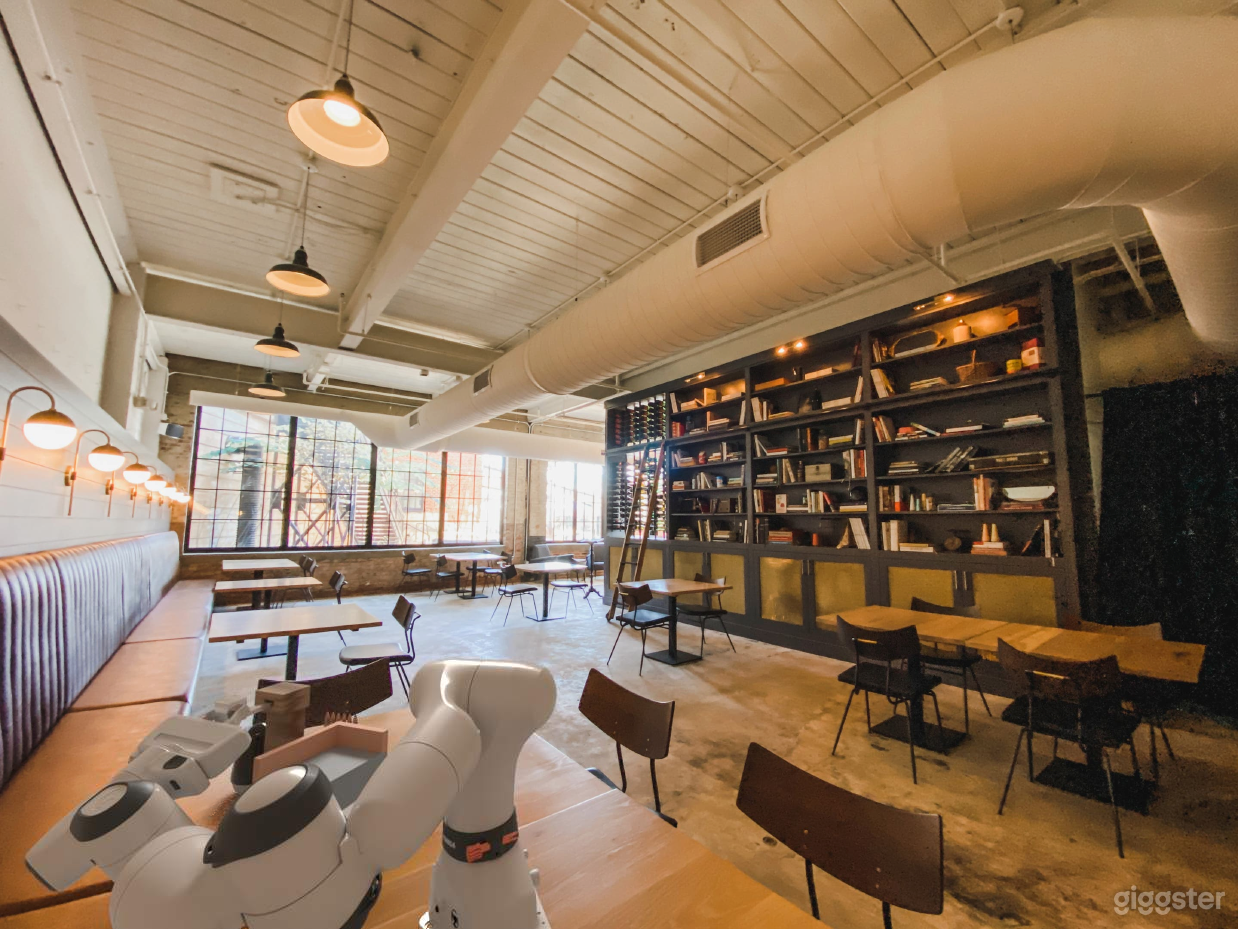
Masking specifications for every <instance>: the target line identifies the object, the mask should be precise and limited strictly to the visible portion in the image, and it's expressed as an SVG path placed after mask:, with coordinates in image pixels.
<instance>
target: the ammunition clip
mask: <svg viewBox="0 0 1238 929" xmlns="http://www.w3.org/2000/svg"><path fill="white" fill-rule="evenodd" d="M338 721H341V722H347V723H353V724H358V723H359V722H358V715H357V714H354V716H353V718H352V714H351V713H349V714H348V716H347V715H346V713H345V712H344V713H342V716H341V714H340V712H338V713H337V715H335V712H332V713H331V715H330V713H329V711H327V712H326V713H325V717H324V725H323V728H324V727H326V726H329V725H331V724H333V723H336V722H338Z"/></svg>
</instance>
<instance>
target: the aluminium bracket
mask: <svg viewBox="0 0 1238 929" xmlns="http://www.w3.org/2000/svg"><path fill="white" fill-rule="evenodd" d="M241 704H243V705H247V704H248V697H247V696H241V695H236V694H235V695H231V696H228V697H225V698H223V699H220V700H218V701H214V708H215V715H214V720H213V721H215V722H220V723H223V722H225V721H226V720H227V719H229V720H230V718H231V717H232V716H233V714H234V712H233V710H234V709H235V708H237V707H238V706H239V705H241ZM273 704H274V701H270V700H267V701H265V702H262V703H260V704H257V705H252V706H248V705H247V706H248V707H249V709H250V712H249V713H248V714H247V715H246V716H245V717H244V718H242V721H245V720H246V719H247V717H249V716H252V715H255V714H257V713H261V712H260V711H262V710H265V709H267V708H270V707H272V706H273Z"/></svg>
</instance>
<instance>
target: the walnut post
mask: <svg viewBox="0 0 1238 929" xmlns="http://www.w3.org/2000/svg"><path fill="white" fill-rule="evenodd" d="M310 699H311V685H308V684H300V683H294V682H287V681H281V682H279V683H275V684H272V685H269V686H266V687H262V688H259V689H257V690H255V694H254V705H257V704H260V703H262V702H265V701H267V700H270V701H274V704H273V706H272V707H270V708H267V709H265V710H262V711H260V712H259V713H261V714H262V713H263V714H266V719H265V722H266V731H265V745H264V753H267V752H269V751H271V750H273V749H276V748H278V747H280V746H283V745H285V744H287V743H290V742H292V741H294V740H296V739H299V738H301V737H303V736H305V725H306V724H305V723H306V708H308V707H309V706H310ZM254 705H253V706H254Z"/></svg>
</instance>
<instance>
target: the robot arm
mask: <svg viewBox="0 0 1238 929" xmlns="http://www.w3.org/2000/svg"><path fill="white" fill-rule="evenodd" d="M557 692H558V691H557V684H556V681H555V679H554V676H553V674H552V672H550V669H549V668H547V667H545V666H542V665H538V664H534V663H531V662H528V661H523V660H510V659H509V660H508V659H507V660H506V659H505V660H504V659H480V658H478V659H475V658H474V659H473V658H459V657H458V658H455V657H451V658H446V659H439V660H434V661H429V662H426V663H425V664H424V665H422V666H421V667H420V668H419V670H418V671H417V672H416V673H415V675H414V677H413V678H412V681H411V683H410V685H409V690H408V705H409V709H410V711H411V713H412V715H413V717H414V718H415V722H414V723H413V724H412V725H411V727H410V728H409V729H408V730H407V732H406V733H405V734H404V735H403V736H402V737H401V739H400V740H399V741H398V742H397V744H396V745H395V746H394V747H393V749H391V751H390V752H389V753H387V757H386V758H385V759H384V760H383V762H382V763H381V764H380V766H379V767H378V768H377V770H376V771H375V772H374V774H373V775H372V777H371V778H370V780H369V781H368V782H367V784H366V785H365V787H364V789H363V790H362V792H361V793H360V795H359V797H358V798H357V800H356V801H355V802H354V803H352V804H351V805H350V806H348V807H347V808H345V809H344V810H341V808H340V806H339V804H338V802H337V800H336V798H335V796H334V795H333V786H332V784H331V782H330V781H329V779H328V777H327V776H326V775H325V773H324V772H323V771H322V770H321V769H320V768H319V767H318V766H317V765H315V764H308V763H297V764H292V765H288V766H285V767H283V768H280V769H278V770H276V771H274V772H272V773H270V774H268V775H266V776H264V777H263V778H261V779H259V780H258V781H256V782H255V783H254V784H252V785H251V786H250V787H248V788H247V789H246V790H245V791H244V792H243V793H241V794H238V796H237V798H235V800H234V801H233V802H232V804H231V805H230V806H229V808H228V809H227V810H226V812H225V814H224V815H223V817H222V818H221V819H220V821H219V823H218V826H217V828H216V831H215V830H213V829H211V828H208V827H204V826H199V825H197V824H196V823H195V822H194V821H193V820H192V819H191V818H190V816H189V815H188V814H187V813H186V812H185V811H184V810H183V809H182V807H181V806H180V805H179V804H178V803H177V802H176V801H175V800H178V799H184V798H187V797H188V798H189V797H195V796H200V795H201V794H203V793H204V792H205V791H206V790H208V788H209V787H210V785H211V782H210V780H212V779H215V778H217V777H219V776H220V775H222V774H223V773H224V772H225V771H226V770H227V769H228V768H229V767H231V765H232V764H234V762H235V761H236V760H237V759H238V758H239V757H240V756H241V755H242V754H243V753H244V752H245V751H246V750H247V748H248V747H249V746H250V743H251V740H252V738H251V736H250V735H249V733H248V730H247V728H246V727H245V726H242V725H241V726H240V724H241V723H242V721H243V720H242V718H244V717H245V716H246V715H247V714H248V713H249V712H250V709H249V707H250V706H249V705H243V704H241V705H239V706H238V707H237V708H235V709H234V710H233V712H234V714H233V716H232V717H231V718H230V720H229V719H227V720H226V721H225V722H223V723H220V722H215V721H214V715H215V707H213V708H211V709H209V710H207V711H205V712H203V713H200V715H199V716H198V717H194V716H188V715H182V714H176V713H175V714H174V715H172V716H170V717H168V718H166V719H164V720H163V721H162V722H161V723H160V724H159V725H158V726H156V727H155V728H154V729H153V730H152V731H151V732H149V733H148V734H147V735H146V736H145V737H144V738H143V739H142V740H141V741H140V743H138V745H137V749H135V750H134V751H133V752H132V753H131V754H130V755H129V758H128V761H127V765H125V766H124V767H123V768H121V770H119V771H118V772H117V773H116V774H115V775H114V776H113V777H112V779H111V780H110V781H109V782H108V783H107V784H106V785H105V786H104V787H102V788H101V789H100V790H98V791H97V792H95V793H93V794H92V795H90V796H88V797H86V798H85V799H84V800H83V801H81V802H80V803H79V804H78V805H76V806H75V807H74V808H73V809H72V810H71V811H69V812H68V813H67V814H66V815H65V816H64V817H62V818H61V819H60V820H59V821H58V822H57V823H55V824H54V825H53V826H52V828H50V829H49V830H48V831H47V832H46V833H44V835H43V836H41V838H39V840H38V841H37V842H36V843H35V844H33V845H32V847H31V848H30V849H29V850H28V851H27V853H26V854H25V856H24V865H25V868H26V870H28V872H29V873H30V874H31V875H33V877H34V878H35V879H36V881H38V882H39V883H40V884H41V885H42V886H43V887H45V888H46V889H47V890H49V891H52V892H53V893H54V892H56V893H60V892H61V893H62V892H64V891H65V890H66V889H68V888H70V887H71V886H72V885H73V884H75V883H76V882H78V881H79V880H80V879H82V877H85V875H87V874H88V873H89V872H91V871H92V870H93V869H94V868H95V867H96V866H97V867H98V868H99V869H100V870H101V872H103V873H104V874H105V875H106V876H107V877H108V878H109V879H110V880H111V881H112V882H113V883H114V884H113V886H112V889H111V892H110V897H109V901H108V902H109V904H108V913H109V920H110V924H111V927H112V929H242V928H243V927H245V926H246V925H247V927H248V929H362V928H363V927H364V925H365V923H366V921H367V919H368V917H369V914H370V912H371V910H372V909H373V908H374V906H375V905H376V904H377V901H378V899H379V897H380V895H381V890H382V888H383V887H382V885H383V874H382V872H385V871H386V872H387V871H391V870H394V869H397V868H399V867H401V866H403V865H404V864H406V863H407V862H408V861H409V860H410V859H411V858H413V857H414V855H415V854H416V853H417V852H418V851H419V850H420V849H421V847H423V845H425V843H426V842H427V840H428V839H429V838H430V837H431V836H432V834H433V833H434V832H435V831H436V830H437V828H438V827H439V825H440V824H441V823H442V826H441V845H442V848H441V851H440V853H439V855H438V857H437V859H436V860H435V861H434V863H433V865H432V868H431V876H430V888H429V897H428V898H429V899H428V900H429V901H428V909H427V911H426V912H425V913H424V914H423V915H422V916H421V917H420V919H419V921H418V925H419V927H420V928H422V929H426V928H427V926H429V925H432V927H431V928H427V929H552V927H551V924H550V923H549V920H548V917H547V915H546V912H545V910H544V907H543V904H542V902H541V899H540V897H539V894H538V891H537V889H536V887H538V886H540V883H541V878H540V871H539V869H538V868H532V869H530V868H529V865H528V861H527V859H529V850H528V849H527V848H525V849H523V846H522V843H521V839H520V834H519V832H520V831H519V827H518V826H519V822H518V821H519V820H518V815H517V811H516V810H517V808H516V805H515V802H514V800H515V799H514V798H515V782H516V770H517V763H518V761H519V757H520V753H521V751H522V750H523V747H524V746H525V744H526V742H527V741H528V740H529V739H530V737H531V736H532V735H533V734H534V733H535V732H537V731H538V730H539V729H540V728H542V727H543V726H544V725H545V724H547V722H548V721H549V719H550V718H551V716H552V715H553V712H554V710H555V707H556V704H557V698H558V697H557V696H558V695H557V694H558V693H557Z"/></svg>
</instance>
